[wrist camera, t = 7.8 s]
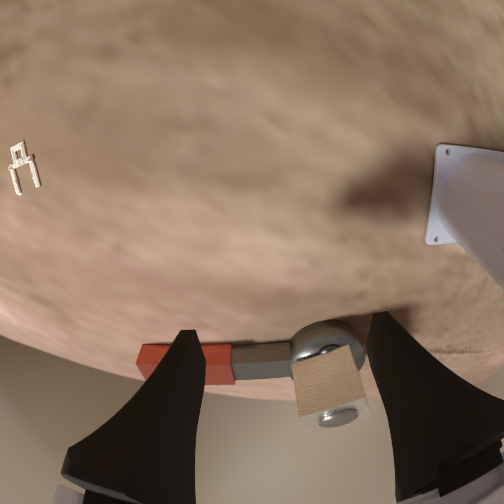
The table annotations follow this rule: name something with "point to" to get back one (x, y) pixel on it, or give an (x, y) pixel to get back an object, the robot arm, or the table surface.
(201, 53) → the table surface
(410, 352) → the robot arm
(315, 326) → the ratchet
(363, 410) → the cube block
